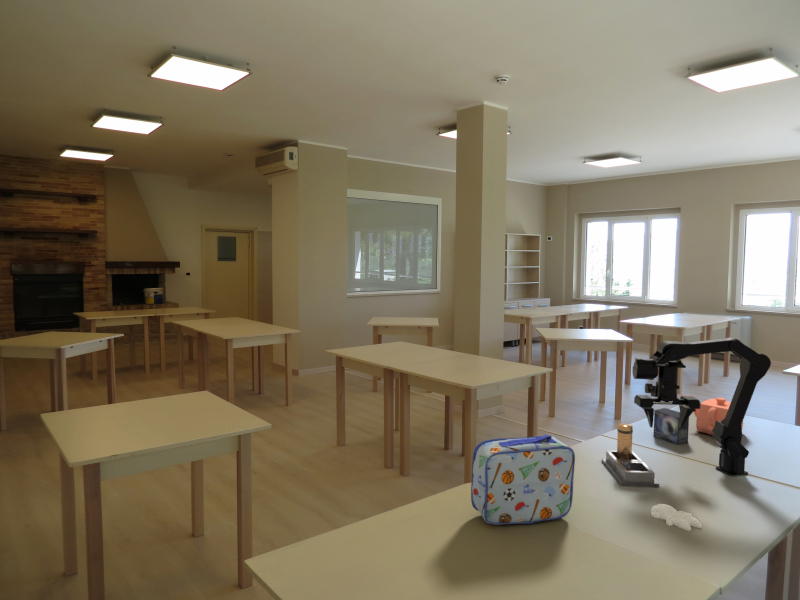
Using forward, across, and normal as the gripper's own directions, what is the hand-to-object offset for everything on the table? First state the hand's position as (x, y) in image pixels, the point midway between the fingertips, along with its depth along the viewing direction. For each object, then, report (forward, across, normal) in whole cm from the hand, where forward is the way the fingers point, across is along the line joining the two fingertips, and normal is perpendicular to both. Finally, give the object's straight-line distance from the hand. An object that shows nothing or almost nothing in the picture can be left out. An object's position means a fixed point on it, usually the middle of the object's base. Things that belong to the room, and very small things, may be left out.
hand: (665, 427), depth 169 cm
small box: (+13, -14, -27) cm, 33 cm away
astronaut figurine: (+14, +12, +36) cm, 40 cm away
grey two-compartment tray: (+13, +14, +7) cm, 20 cm away
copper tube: (+12, +14, +2) cm, 18 cm away
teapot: (+13, -34, -39) cm, 53 cm away
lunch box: (+13, +51, +38) cm, 65 cm away
